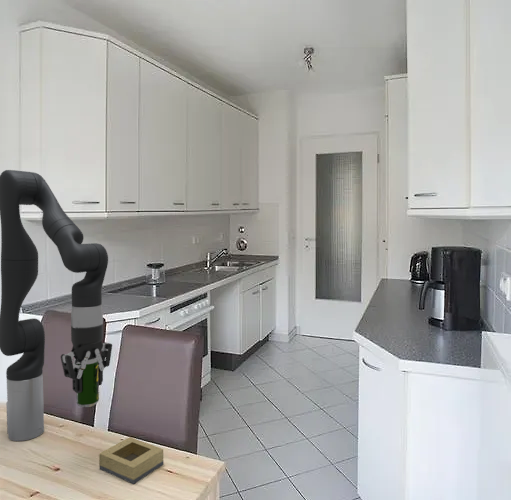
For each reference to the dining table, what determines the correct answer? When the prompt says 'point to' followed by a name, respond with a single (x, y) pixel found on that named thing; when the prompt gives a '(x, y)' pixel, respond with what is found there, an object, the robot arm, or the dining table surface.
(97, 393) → the beer can
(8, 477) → the dining table surface
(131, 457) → the socket block
